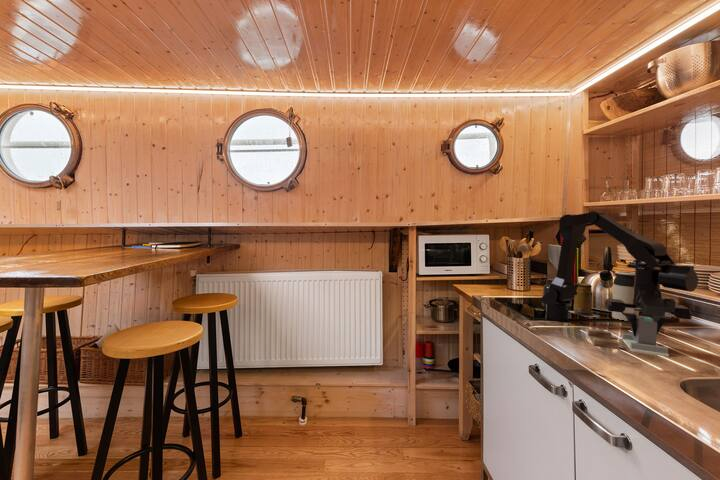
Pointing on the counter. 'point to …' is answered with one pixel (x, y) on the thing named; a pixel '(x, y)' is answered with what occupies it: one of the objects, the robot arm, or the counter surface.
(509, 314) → the counter surface
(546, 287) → the supplement bottle
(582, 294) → the condiment
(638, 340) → the plug
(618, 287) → the travel mug
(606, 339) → the walnut dock
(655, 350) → the cradle
